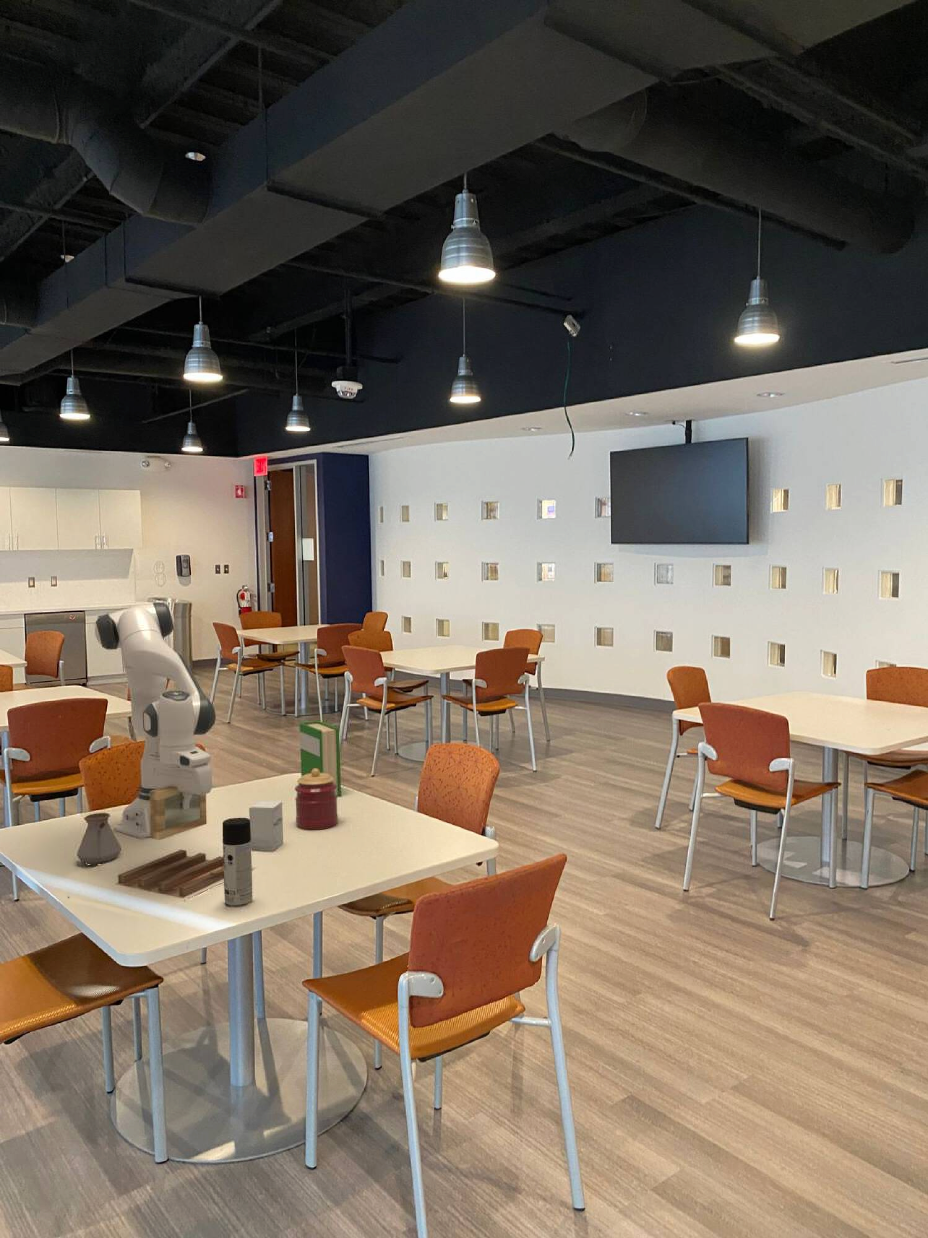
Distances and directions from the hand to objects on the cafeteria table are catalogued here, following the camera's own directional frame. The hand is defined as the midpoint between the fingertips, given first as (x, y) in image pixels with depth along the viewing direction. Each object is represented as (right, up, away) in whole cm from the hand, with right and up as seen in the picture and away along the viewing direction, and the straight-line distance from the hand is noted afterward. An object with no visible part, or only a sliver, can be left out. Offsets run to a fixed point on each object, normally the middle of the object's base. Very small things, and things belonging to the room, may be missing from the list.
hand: (179, 807), depth 235 cm
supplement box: (+16, -17, +28) cm, 37 cm away
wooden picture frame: (0, -6, 0) cm, 6 cm away
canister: (+28, -16, +50) cm, 59 cm away
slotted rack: (0, -19, +3) cm, 20 cm away
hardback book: (+23, -13, +87) cm, 91 cm away
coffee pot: (-26, -19, +14) cm, 35 cm away
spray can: (+19, -20, -13) cm, 31 cm away
